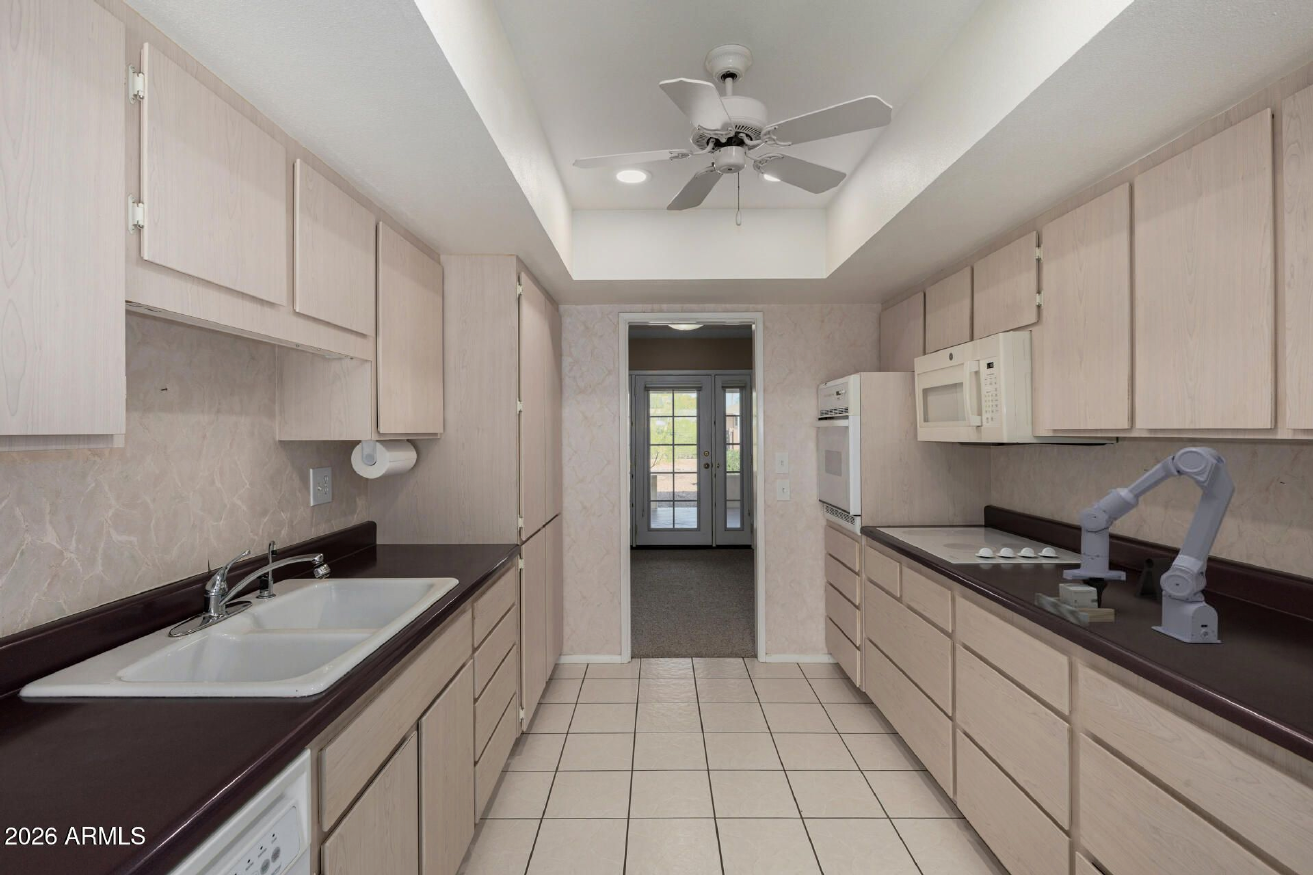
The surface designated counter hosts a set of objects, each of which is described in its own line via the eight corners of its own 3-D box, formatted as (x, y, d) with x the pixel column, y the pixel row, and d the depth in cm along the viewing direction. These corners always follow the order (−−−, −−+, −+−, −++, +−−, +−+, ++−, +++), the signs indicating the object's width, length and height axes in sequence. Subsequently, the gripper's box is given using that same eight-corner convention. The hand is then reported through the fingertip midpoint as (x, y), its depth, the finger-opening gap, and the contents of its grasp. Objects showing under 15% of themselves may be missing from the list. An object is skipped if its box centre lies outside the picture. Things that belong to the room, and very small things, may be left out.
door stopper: (1183, 604, 159) (1184, 561, 159) (1164, 605, 158) (1165, 561, 158) (1150, 595, 168) (1151, 554, 168) (1132, 596, 167) (1133, 554, 167)
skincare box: (1073, 618, 147) (1071, 589, 147) (1060, 610, 153) (1058, 583, 153) (1099, 617, 146) (1097, 588, 146) (1085, 610, 152) (1083, 582, 152)
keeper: (1126, 627, 141) (1126, 614, 141) (1082, 626, 141) (1082, 614, 141) (1073, 604, 159) (1073, 593, 159) (1034, 604, 159) (1034, 593, 159)
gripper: (1111, 551, 153) (1110, 602, 154) (1055, 550, 154) (1054, 601, 154) (1132, 557, 146) (1131, 610, 147) (1074, 556, 146) (1073, 610, 147)
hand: (1093, 606), depth 150 cm, fingers closed, pressing on skincare box
